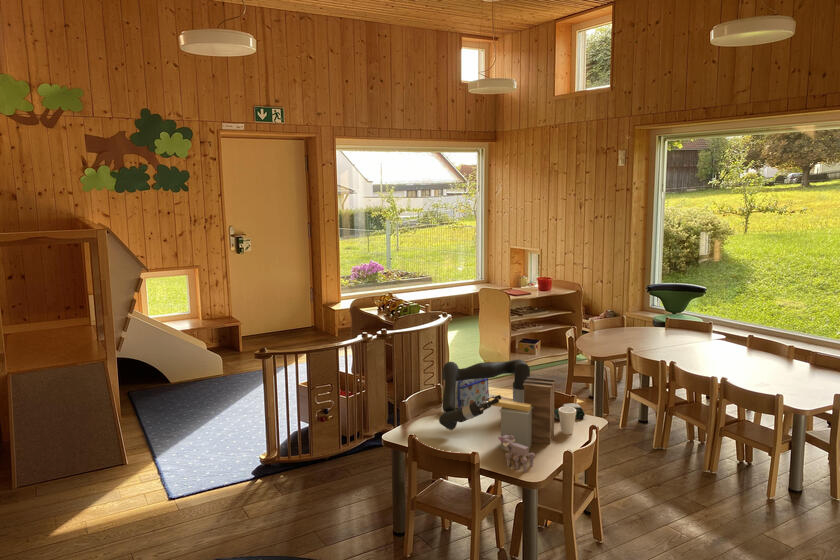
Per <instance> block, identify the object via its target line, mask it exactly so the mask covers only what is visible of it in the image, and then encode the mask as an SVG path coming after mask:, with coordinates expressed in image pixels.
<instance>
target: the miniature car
mask: <svg viewBox="0 0 840 560" xmlns="http://www.w3.org/2000/svg"><path fill="white" fill-rule="evenodd" d="M561 407H572V408H575V409H576V416H575V419H579V420H581V421H582V420H584V418H585V417H586V413H585V411H584V408H582V407H581V405H580V404H578V403H576V404H575V402H574V403H573V402H572V403H563V404H562V406H561ZM554 419H557V420H558V422H560V417H559V408H554Z"/></svg>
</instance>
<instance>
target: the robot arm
mask: <svg viewBox="0 0 840 560" xmlns="http://www.w3.org/2000/svg"><path fill="white" fill-rule="evenodd" d="M530 369H531V368H530V366H529V364H528V363H526V362H525V361H524V359H513V360H508V361H493V362H492V361H490V362H489V361H488V362H487V361H486V362H479V363H475V364H473V365H470V366H467V367H464V368H459V366H458V364H457V363H456V362H454V361H448V362H446V363H445V364H444V365H443V367H442V372H441V378H442V380H444V389H443V397H442V412H444V413H442V414H440V416H439V418H438V422H439V424H440V425H441V426H442V427H444V428H445V429H447V430H451V431H452V430H454V429H455V428H456V427H457V425H458V423H463V422H466V421H468V420H471V419H474V418H476V417H478V416H480V415H483V414H484V411H486V410H488V409H490V408H491V407H492V406H493V404H496V403H498V402H499V400H498V399H501V400H502V396H501V394H498V395H496V396H491V397H490V396H489V398H487V399H486V400H484V401H482V403H480V402H479V401H475V402H473V403H470V404H468V405H466V406H465V407H463V408H461V409H458V408H457V410H456V408H455V388H456V381H460V380H467V379H483V378H488V379H492V378H496V377H498V376H500V375H501V376H502V375H507V374H513V375H514V381H513V382H512V401H514V402H520V403H524V386H523V384H524V380H526V379H527V377H531V370H530ZM490 398H495V399H494V400H491V401H489V402H488V400H489V399H490ZM493 407H494V406H493Z"/></svg>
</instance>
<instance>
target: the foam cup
mask: <svg viewBox="0 0 840 560" xmlns="http://www.w3.org/2000/svg"><path fill="white" fill-rule="evenodd" d="M558 409H559V417H560V421H559V424H560V425H559V426H560V431H561V434H564V435H571V434H573V433H574V427H575V422H576V418H575V416H576V409H575V408H572V407H562V406H560V407H559V408H558Z"/></svg>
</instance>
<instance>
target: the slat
mask: <svg viewBox="0 0 840 560" xmlns="http://www.w3.org/2000/svg"><path fill="white" fill-rule="evenodd" d="M489 398H490V397H489ZM494 399H495V398H490V399H489V400H488V402H489V401H491V400H494ZM498 400H499V402H498V403H496V404H493V407H498V408H499V407H500V408H502V407H504V408H510V409H516V410H522V411H528V412H529V411H530V410H531V404H526V403H520V402H514V401H513V400H506V399H502V398H501V399H498Z"/></svg>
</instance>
